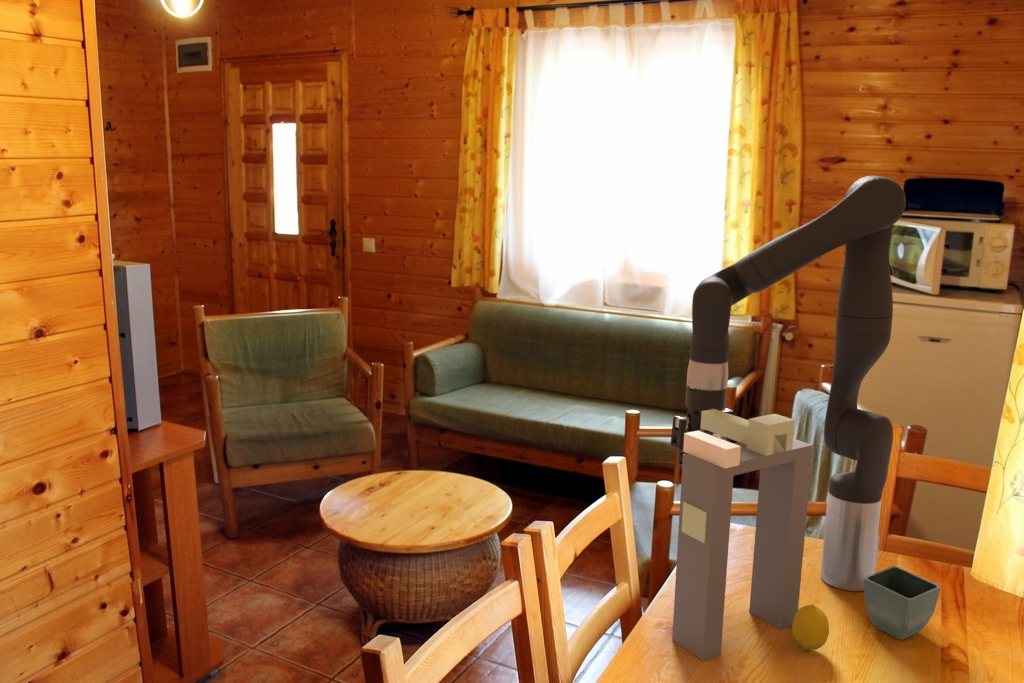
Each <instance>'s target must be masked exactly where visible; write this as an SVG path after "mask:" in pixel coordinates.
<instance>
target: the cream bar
mask: <svg viewBox="0 0 1024 683" xmlns="http://www.w3.org/2000/svg"><path fill="white" fill-rule="evenodd" d="M733 443H734V442H733ZM733 443H732V442H730V441H725V440H722V439H720V438H717V437H714V436H712V435H709V434H706V433H704V432H701V431H693V432H688V433H684V447H683V452H686V453H688V454H691V455H693V456H696V457H698V458H700V459H703V460H705V461H708V462H710V463H713V464H715V465H718V466H720V467H722V468H730V467H734V466H738V465H739V463H740V449H741V446H739V445H736V444H733Z"/></svg>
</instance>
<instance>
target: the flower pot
mask: <svg viewBox="0 0 1024 683" xmlns="http://www.w3.org/2000/svg"><path fill="white" fill-rule="evenodd" d="M941 589H942V586H941V585H939V584H937V583H935V582H932V581H930V580H928V579H926V578H923V577H921V576H919V575H916V574H914V573H912V572H909V571H908V570H906V569H903V568H901V567H899V566H896V565H893V566H890V567H887V568H884V569H882V570H880V571H878V572H877V571H876V573H874V574H872V575H869V576H866V577H865V578H864V590H863V592H864V604H865V609H866V612H867V614H868V617H869V619H870V620H871V622H872V624H873V626H874V627H875V628H877V629H878V630H880V631H882V632H884V633H886V634H889V635H890V636H892V637H894V638H895V639H898V640H900V641H904V640H906V639H907V638H910V637H911V636H914V635H916V634H918V633H919V632H921V630H923V628H925V626H926V625H927V624H928V623H929V622H930V620H931V619H932V616H933V615H934V614H935V609H936V606H937V603H938V600H939V595H940V593H941Z"/></svg>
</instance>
